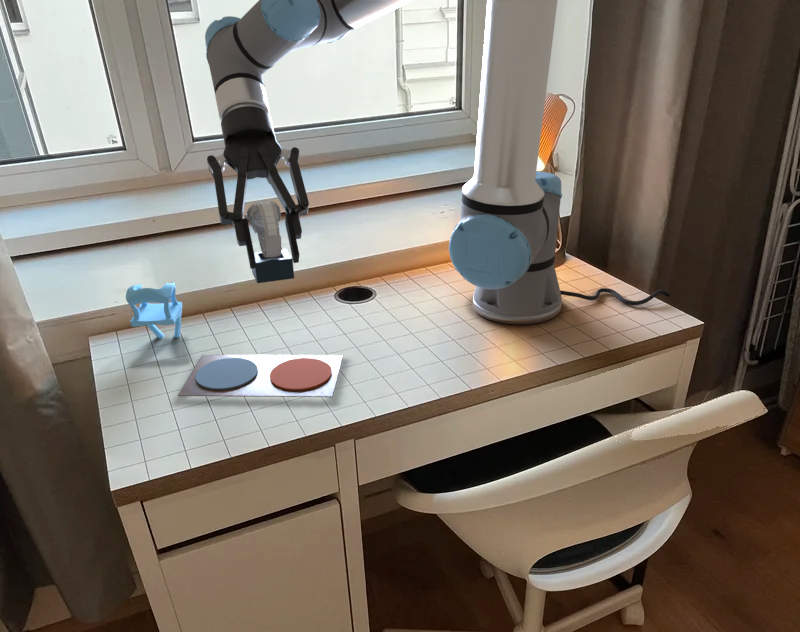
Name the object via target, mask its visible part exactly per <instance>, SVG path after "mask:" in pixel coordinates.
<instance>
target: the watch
mask: <svg viewBox="0 0 800 632" xmlns="http://www.w3.org/2000/svg"><path fill="white" fill-rule="evenodd" d="M247 208H248V209H247V211H246V214H244V219H246V218H247V220H248V224H250V226H251V228H252V230H253V232H254V234H257V240H258V243H259V247H260V250H261V251H257V252H255V251H254V255H255V260H256V268H254V269H251V273H252V275H253V277H254V278H253V279H254V280H255V282H256V284H262V283H269V282H277V281H278V282H279V281H285V280H286V281H287V280H293V279H295V271H294V263H293V258H292V254H290V253H291V252H290V251H289V250H288V249H287V248H283V247H282V236H281V233H280V226H279V223H280V221H281V218H282V213H281V209H280V206H279V205H278V204H277V202H276V201H275V200H270V199H269V200H267V199H264V200H258V201H256V202H253V203H252V204H251V205H249V207H247Z"/></svg>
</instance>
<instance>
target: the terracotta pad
mask: <svg viewBox="0 0 800 632" xmlns="http://www.w3.org/2000/svg"><path fill="white" fill-rule="evenodd" d="M331 374H332V370H331V367H330V366H329V365H328V364H327V363H326V362H324V361H322V360H319V359H314V358H297V359H292V360H288V361H285V362H283V363H281V364H279V365H277V366H276V367H275V368H273V370H272V371H271V373H270V380H271V382H272V383H273V384H274V385H275V386H277V387H279V388H281V389H285V390H294V391H298V390H307V389H312V388H315V387H318V386H320V385H322V384H324V383H325V382H326V381H328V380H329V378H330V377H331Z"/></svg>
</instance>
